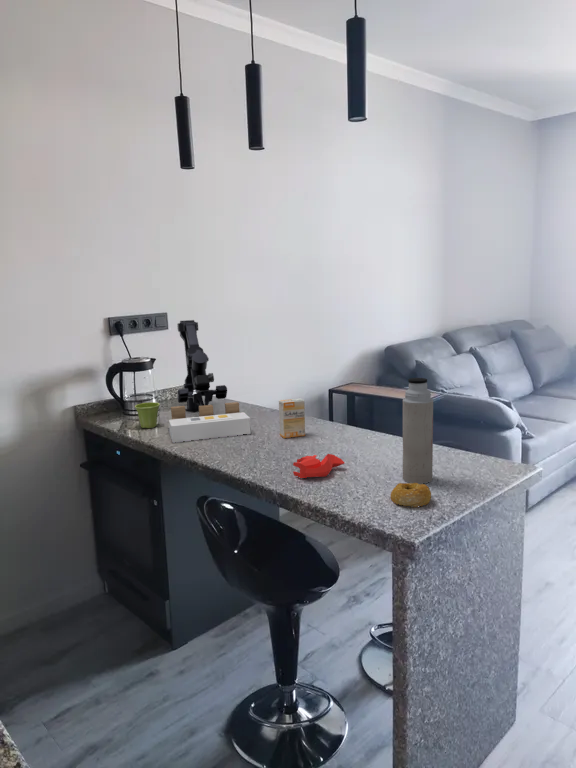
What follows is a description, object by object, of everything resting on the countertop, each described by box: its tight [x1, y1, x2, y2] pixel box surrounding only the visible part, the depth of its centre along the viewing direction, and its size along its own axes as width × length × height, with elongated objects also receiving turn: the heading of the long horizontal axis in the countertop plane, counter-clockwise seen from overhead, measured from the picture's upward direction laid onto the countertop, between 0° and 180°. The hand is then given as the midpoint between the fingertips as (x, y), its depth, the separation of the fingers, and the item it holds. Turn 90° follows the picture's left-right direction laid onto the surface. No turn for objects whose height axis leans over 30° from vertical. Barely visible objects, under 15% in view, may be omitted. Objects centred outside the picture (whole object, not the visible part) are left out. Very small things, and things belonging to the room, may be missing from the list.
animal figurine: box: [292, 453, 346, 479], centre depth 166 cm, size 12×15×5 cm
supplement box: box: [278, 397, 306, 439], centre depth 203 cm, size 8×5×13 cm, turn 109°
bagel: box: [390, 482, 432, 508], centre depth 143 cm, size 10×11×5 cm
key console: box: [167, 411, 252, 444], centre depth 213 cm, size 18×28×6 cm, turn 107°
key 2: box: [224, 401, 240, 414], centre depth 219 cm, size 2×5×8 cm, turn 107°
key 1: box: [170, 405, 187, 420], centre depth 216 cm, size 2×5×8 cm, turn 107°
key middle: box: [198, 404, 214, 417], centre depth 216 cm, size 2×5×8 cm, turn 107°
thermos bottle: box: [402, 377, 434, 485], centre depth 155 cm, size 8×8×28 cm
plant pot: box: [134, 401, 161, 429], centre depth 224 cm, size 9×9×9 cm
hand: (205, 412), depth 217 cm, fingers closed
